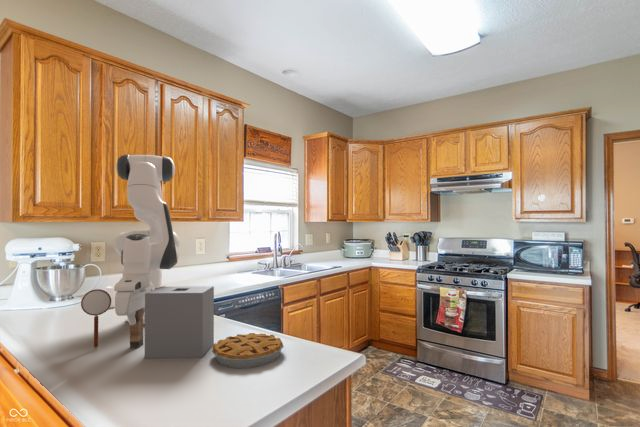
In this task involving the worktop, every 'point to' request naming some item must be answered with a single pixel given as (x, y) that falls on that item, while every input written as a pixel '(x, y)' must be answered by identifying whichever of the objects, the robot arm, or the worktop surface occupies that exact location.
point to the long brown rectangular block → (137, 330)
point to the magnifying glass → (96, 307)
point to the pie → (247, 350)
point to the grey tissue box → (179, 322)
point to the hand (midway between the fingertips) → (136, 322)
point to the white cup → (111, 295)
